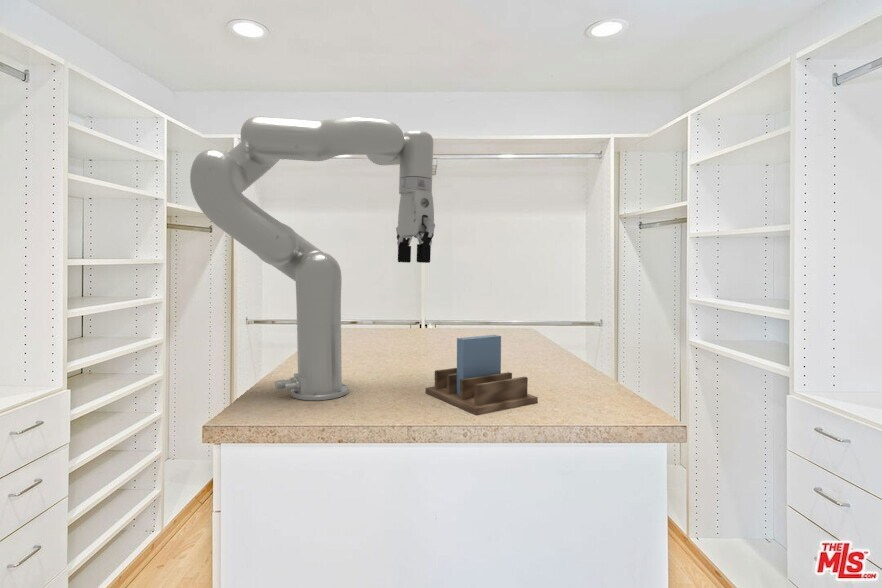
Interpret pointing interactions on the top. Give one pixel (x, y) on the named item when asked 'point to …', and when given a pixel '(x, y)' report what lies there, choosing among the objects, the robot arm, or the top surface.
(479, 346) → the tile
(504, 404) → the rack
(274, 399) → the top surface
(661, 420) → the top surface
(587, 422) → the top surface
